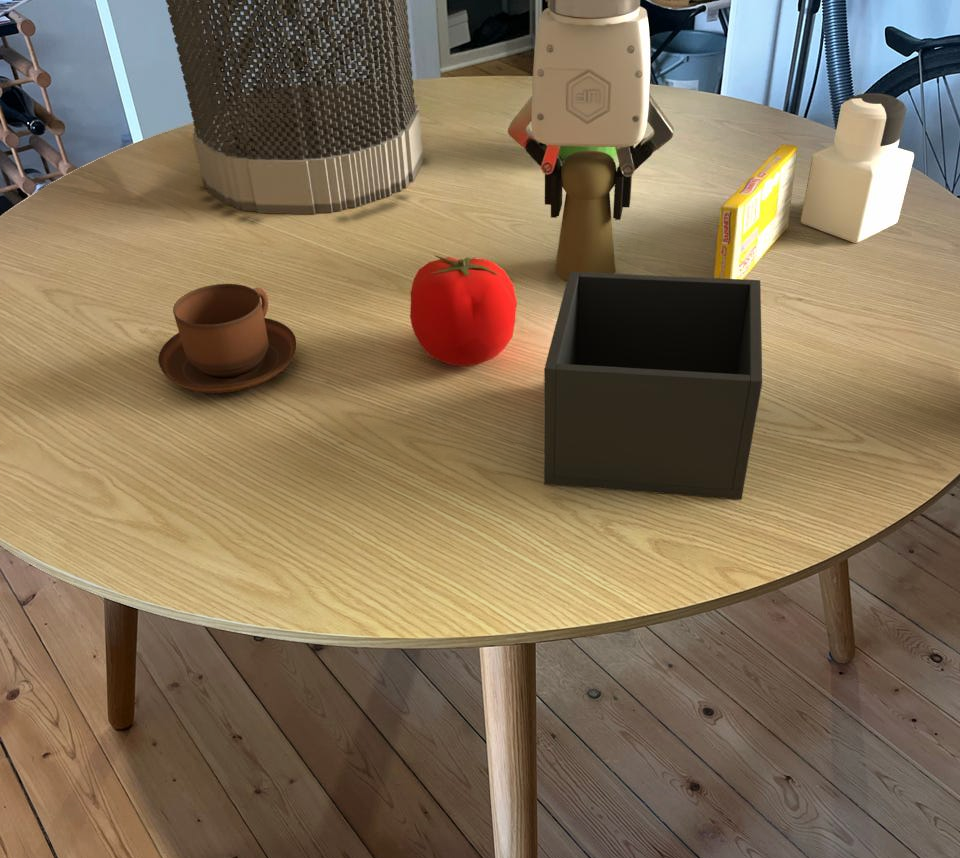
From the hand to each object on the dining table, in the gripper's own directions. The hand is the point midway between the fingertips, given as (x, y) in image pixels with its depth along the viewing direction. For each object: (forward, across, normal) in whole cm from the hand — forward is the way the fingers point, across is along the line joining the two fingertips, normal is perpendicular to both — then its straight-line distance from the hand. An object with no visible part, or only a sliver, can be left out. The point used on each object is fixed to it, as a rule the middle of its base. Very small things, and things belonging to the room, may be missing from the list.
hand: (587, 211), depth 97 cm
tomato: (+6, -9, -17) cm, 20 cm away
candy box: (+6, +16, +4) cm, 18 cm away
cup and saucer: (+6, -29, -22) cm, 37 cm away
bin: (+6, +8, -28) cm, 30 cm away
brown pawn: (+6, 0, 0) cm, 6 cm away
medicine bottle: (+6, +26, +13) cm, 30 cm away
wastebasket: (+6, -35, +23) cm, 42 cm away
